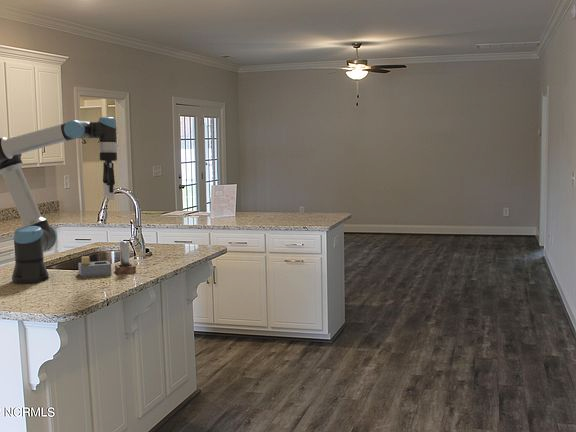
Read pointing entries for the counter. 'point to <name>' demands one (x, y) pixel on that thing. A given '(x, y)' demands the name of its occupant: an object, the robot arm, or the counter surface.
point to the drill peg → (124, 253)
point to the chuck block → (95, 269)
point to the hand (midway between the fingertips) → (108, 198)
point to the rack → (125, 269)
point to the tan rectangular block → (85, 260)
